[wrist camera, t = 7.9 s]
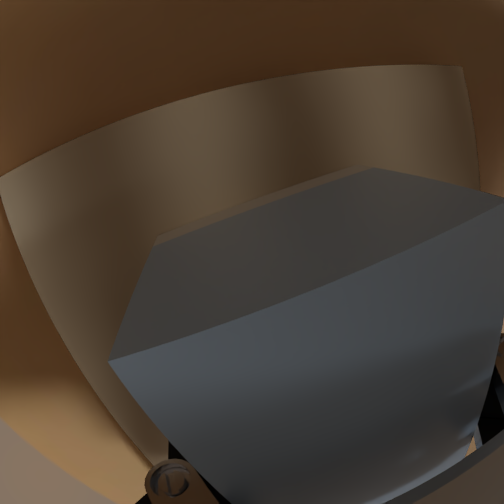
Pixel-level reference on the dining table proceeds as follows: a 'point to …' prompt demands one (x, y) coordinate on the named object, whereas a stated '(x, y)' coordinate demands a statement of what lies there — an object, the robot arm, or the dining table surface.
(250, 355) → the block
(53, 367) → the dining table surface
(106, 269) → the birch board
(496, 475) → the robot arm
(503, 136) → the dining table surface
